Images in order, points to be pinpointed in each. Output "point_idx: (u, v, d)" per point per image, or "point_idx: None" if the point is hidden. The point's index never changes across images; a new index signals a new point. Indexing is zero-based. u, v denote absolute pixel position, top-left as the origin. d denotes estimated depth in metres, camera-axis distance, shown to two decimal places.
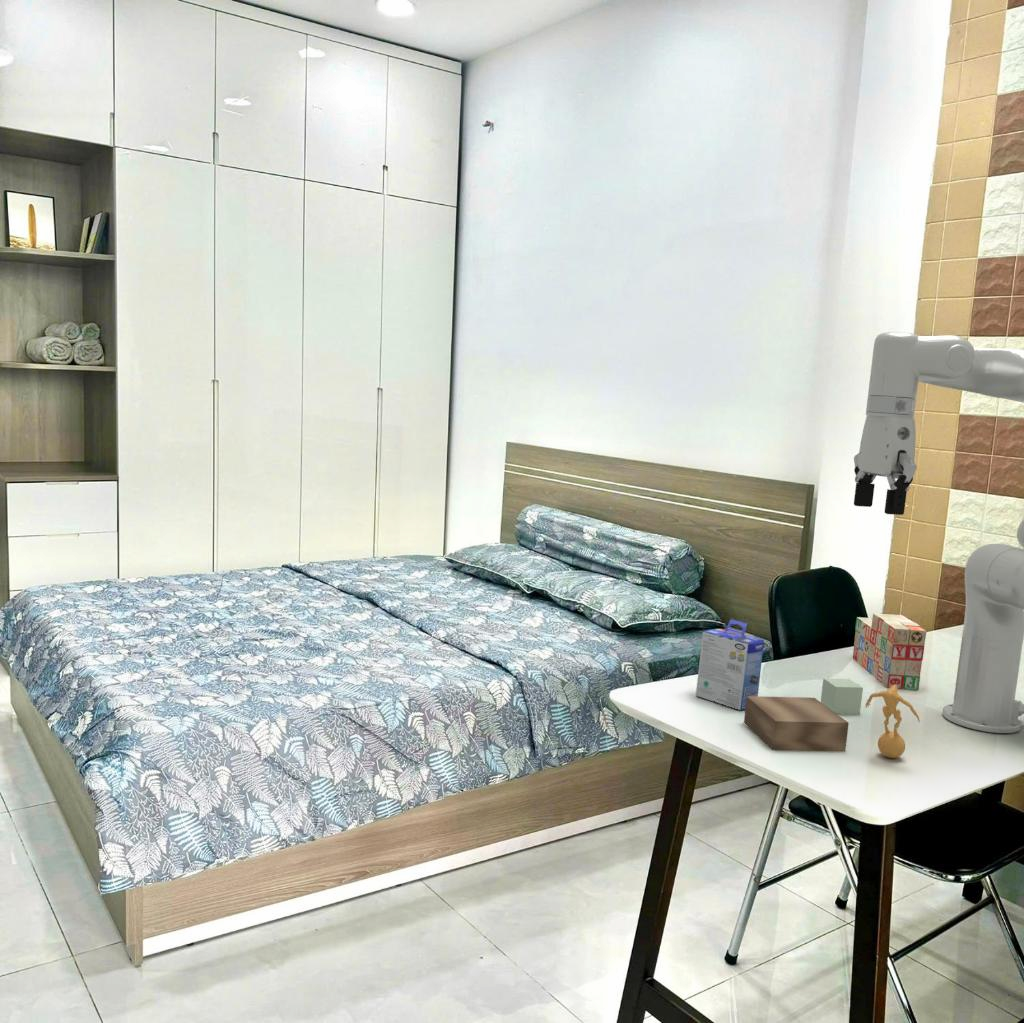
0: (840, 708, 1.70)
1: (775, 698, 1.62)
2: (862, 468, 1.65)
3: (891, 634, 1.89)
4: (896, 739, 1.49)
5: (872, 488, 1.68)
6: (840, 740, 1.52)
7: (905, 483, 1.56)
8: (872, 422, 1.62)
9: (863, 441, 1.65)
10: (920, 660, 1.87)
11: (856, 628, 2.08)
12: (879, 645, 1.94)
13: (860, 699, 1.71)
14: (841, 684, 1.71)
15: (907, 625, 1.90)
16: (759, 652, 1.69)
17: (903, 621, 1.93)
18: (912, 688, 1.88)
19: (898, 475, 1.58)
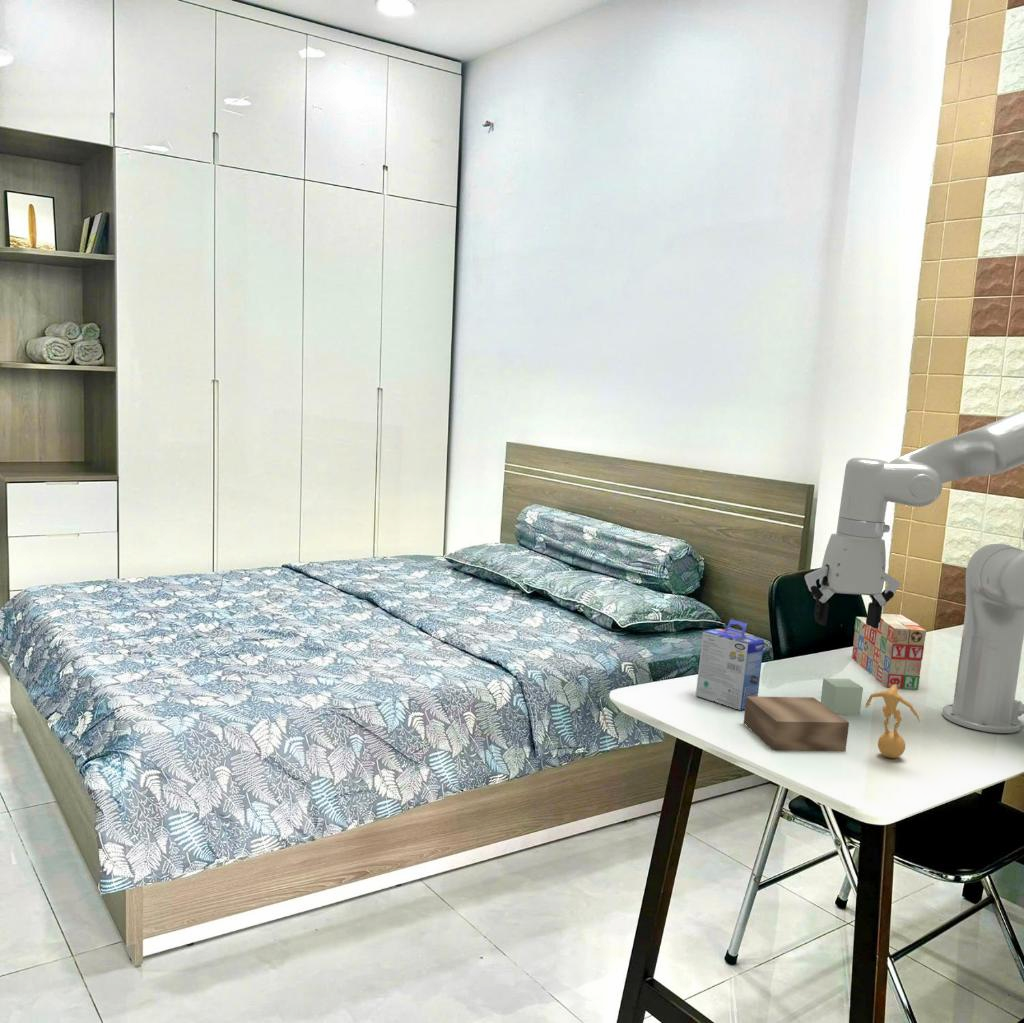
0: (840, 708, 1.70)
1: (775, 698, 1.61)
2: (841, 589, 1.68)
3: (890, 633, 1.89)
4: (896, 739, 1.49)
5: None
6: (840, 740, 1.52)
7: None
8: (860, 545, 1.67)
9: (843, 563, 1.67)
10: (920, 660, 1.88)
11: (855, 628, 2.08)
12: (879, 645, 1.94)
13: (860, 699, 1.71)
14: (841, 684, 1.71)
15: (907, 625, 1.90)
16: (759, 652, 1.69)
17: (903, 621, 1.93)
18: (912, 688, 1.89)
19: None
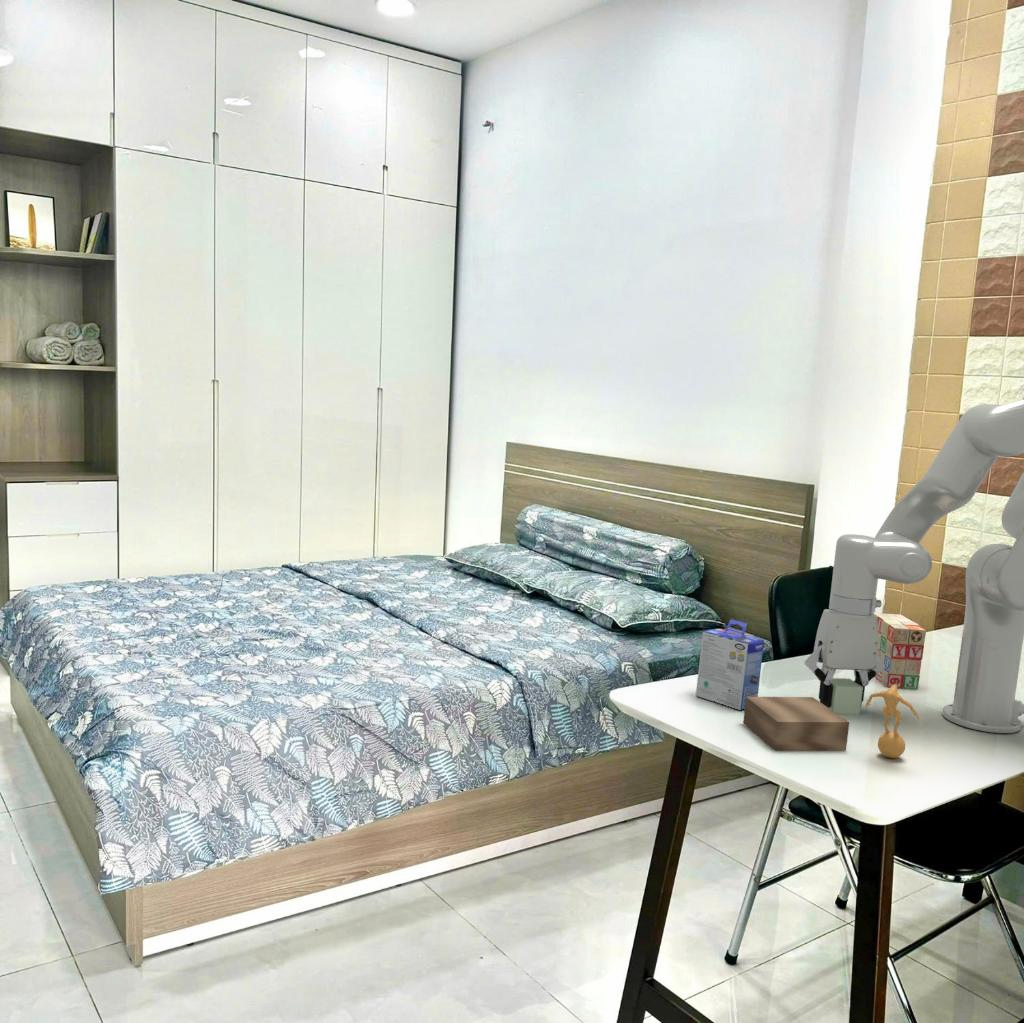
0: (840, 707, 1.70)
1: (774, 698, 1.61)
2: (835, 665, 1.70)
3: (890, 633, 1.89)
4: (896, 739, 1.49)
5: None
6: (841, 740, 1.52)
7: None
8: (853, 622, 1.68)
9: (836, 640, 1.69)
10: (920, 659, 1.88)
11: None
12: (879, 644, 1.94)
13: (860, 698, 1.71)
14: (841, 684, 1.71)
15: (907, 624, 1.90)
16: (759, 652, 1.69)
17: (902, 620, 1.93)
18: (912, 687, 1.89)
19: None
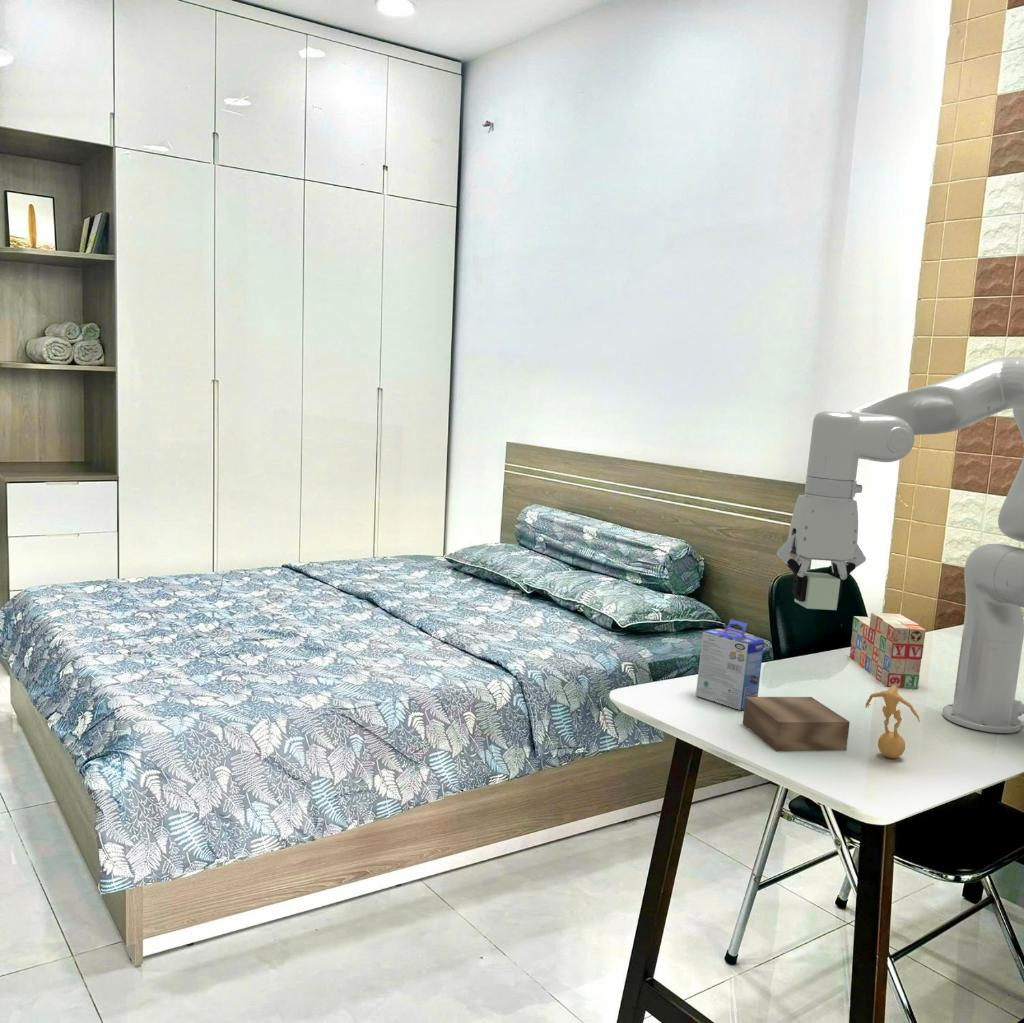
0: (815, 601, 1.55)
1: (773, 698, 1.61)
2: (809, 555, 1.54)
3: (890, 633, 1.89)
4: (896, 739, 1.49)
5: None
6: (841, 739, 1.52)
7: None
8: (830, 507, 1.53)
9: (811, 526, 1.53)
10: (919, 659, 1.88)
11: (853, 627, 2.09)
12: (878, 644, 1.95)
13: (837, 592, 1.55)
14: (817, 576, 1.56)
15: (906, 624, 1.91)
16: (759, 652, 1.69)
17: (902, 620, 1.93)
18: (911, 687, 1.89)
19: None
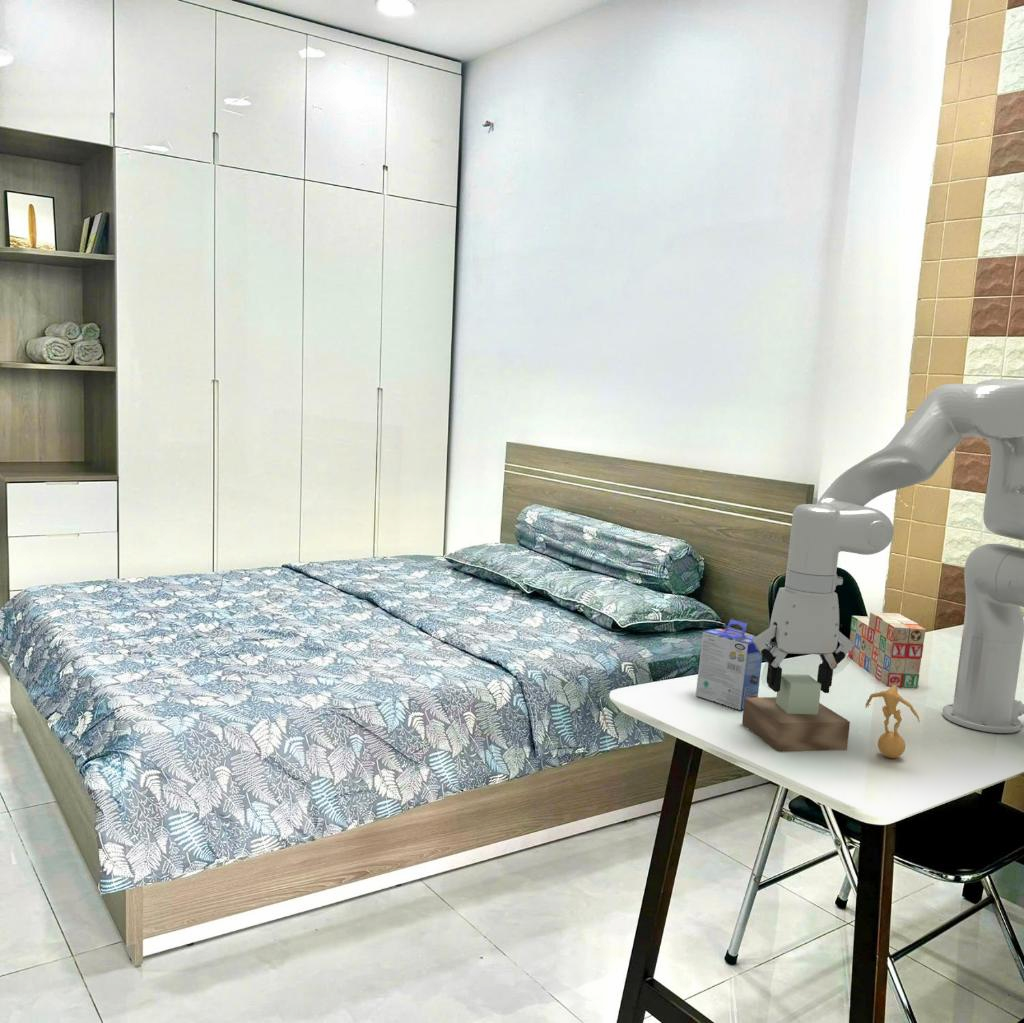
0: (795, 706, 1.54)
1: (772, 699, 1.61)
2: (791, 649, 1.53)
3: (890, 632, 1.90)
4: (896, 739, 1.49)
5: None
6: (842, 739, 1.52)
7: None
8: (810, 601, 1.52)
9: (792, 621, 1.52)
10: (919, 658, 1.89)
11: (851, 626, 2.09)
12: (878, 643, 1.95)
13: (818, 697, 1.54)
14: (798, 680, 1.55)
15: (906, 623, 1.91)
16: None
17: (901, 619, 1.94)
18: (911, 686, 1.90)
19: None
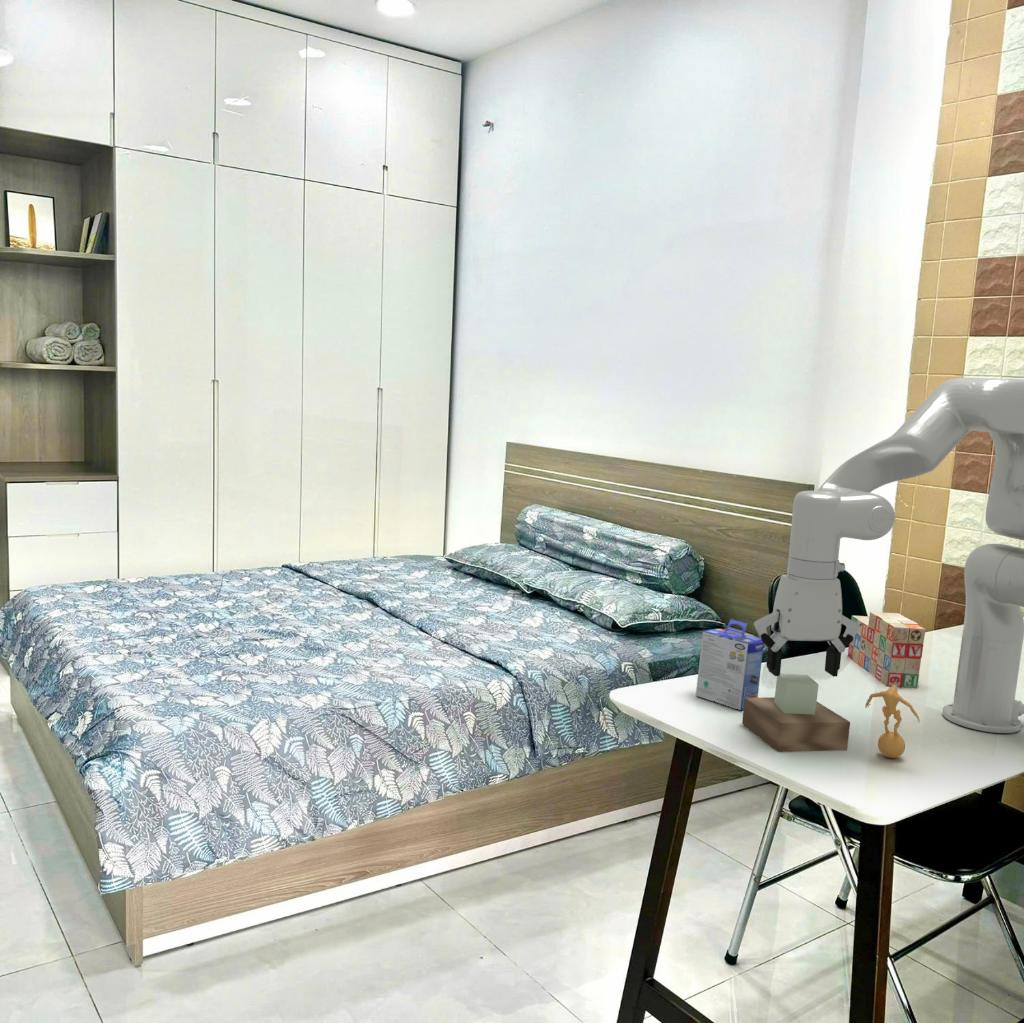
0: (792, 706, 1.54)
1: (773, 699, 1.61)
2: (794, 636, 1.53)
3: (890, 632, 1.90)
4: (896, 739, 1.49)
5: None
6: (842, 739, 1.52)
7: None
8: (813, 588, 1.52)
9: (795, 608, 1.52)
10: (919, 658, 1.89)
11: None
12: (878, 643, 1.95)
13: (816, 697, 1.54)
14: (795, 680, 1.55)
15: (906, 623, 1.91)
16: (759, 652, 1.69)
17: (901, 619, 1.94)
18: (911, 686, 1.90)
19: None
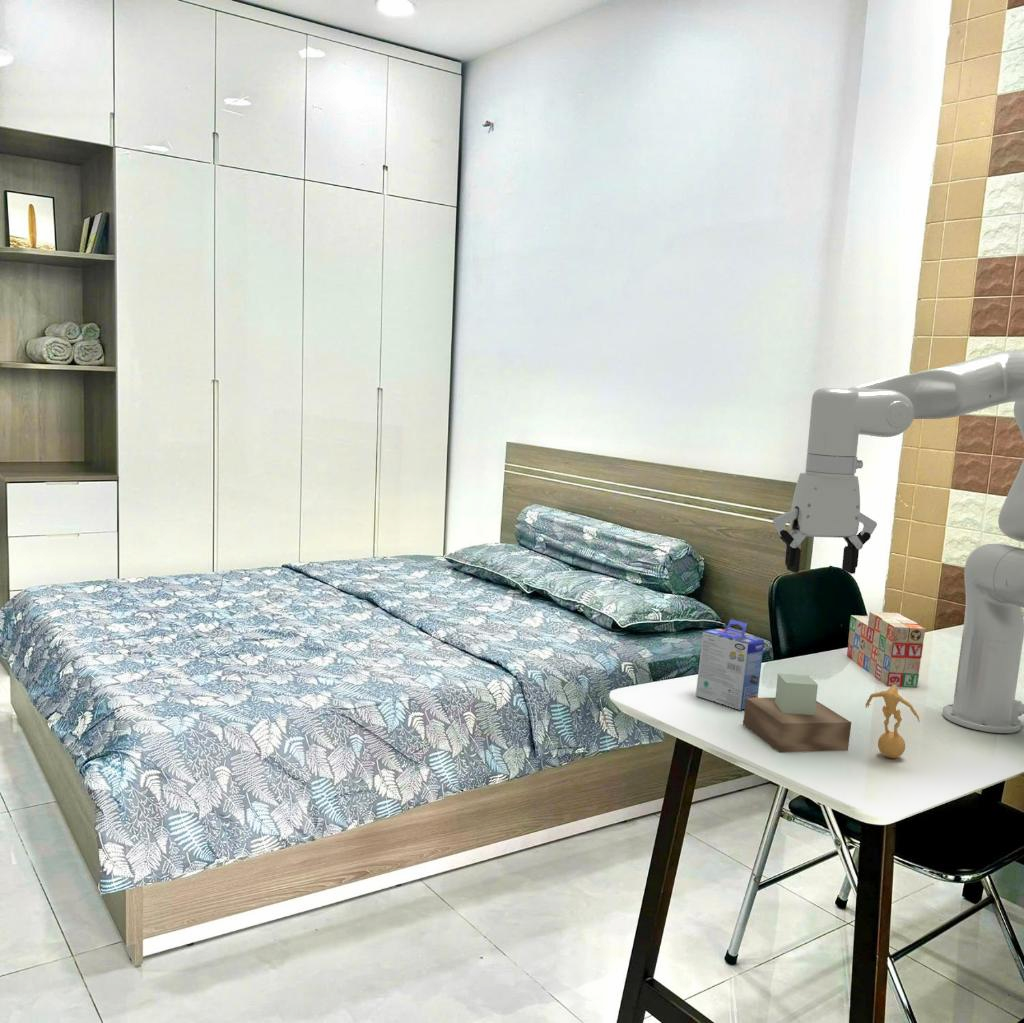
0: (791, 706, 1.54)
1: (774, 699, 1.61)
2: (813, 532, 1.54)
3: (890, 632, 1.90)
4: (896, 739, 1.49)
5: None
6: (843, 740, 1.52)
7: None
8: (832, 483, 1.53)
9: (814, 504, 1.53)
10: (919, 658, 1.89)
11: (850, 626, 2.09)
12: (877, 643, 1.95)
13: (815, 697, 1.54)
14: (795, 680, 1.55)
15: (905, 623, 1.91)
16: (759, 652, 1.69)
17: (901, 619, 1.94)
18: (911, 685, 1.90)
19: None
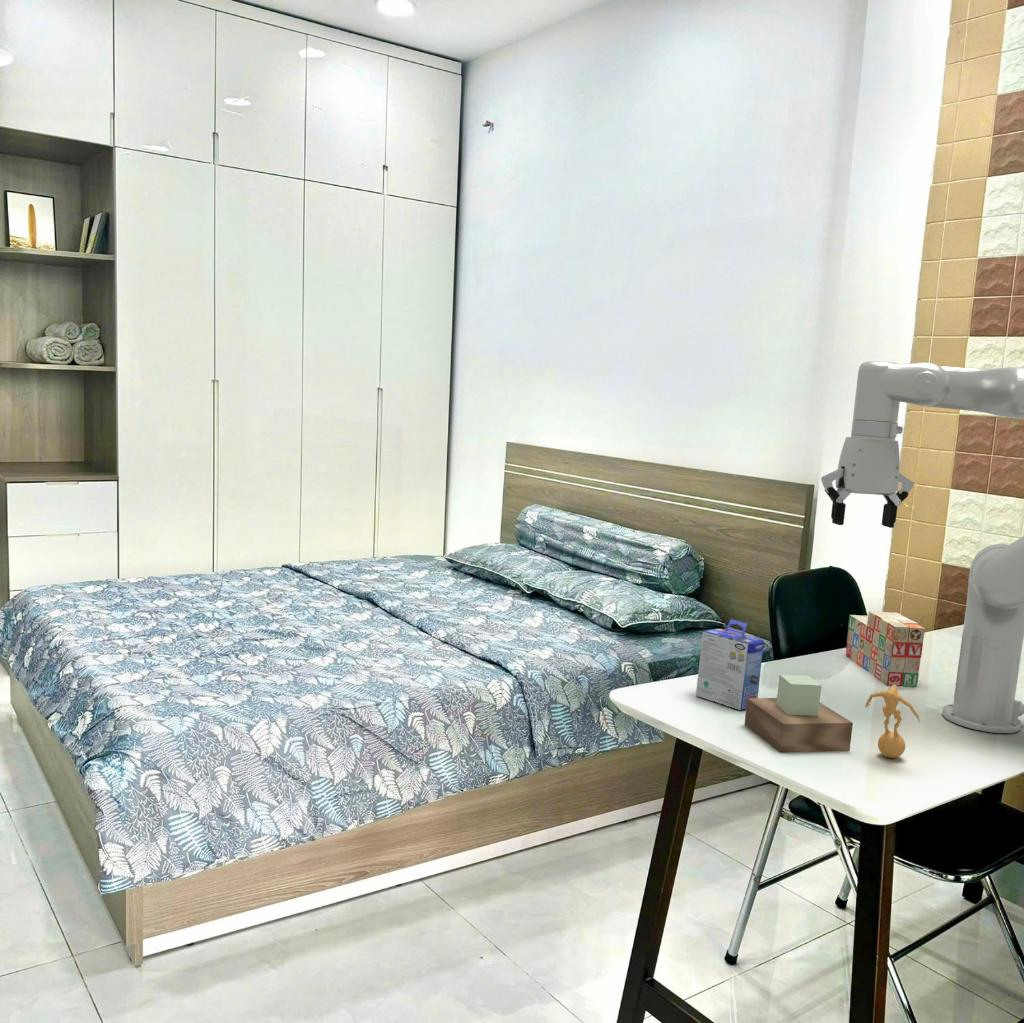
0: (795, 707, 1.54)
1: (775, 699, 1.61)
2: (857, 489, 1.73)
3: (890, 632, 1.90)
4: (896, 739, 1.49)
5: None
6: (844, 740, 1.52)
7: None
8: (875, 446, 1.72)
9: (859, 464, 1.72)
10: (919, 657, 1.90)
11: (849, 626, 2.10)
12: (877, 643, 1.96)
13: (819, 698, 1.54)
14: (798, 681, 1.55)
15: (905, 623, 1.92)
16: (759, 652, 1.69)
17: (900, 619, 1.94)
18: (911, 685, 1.90)
19: None
